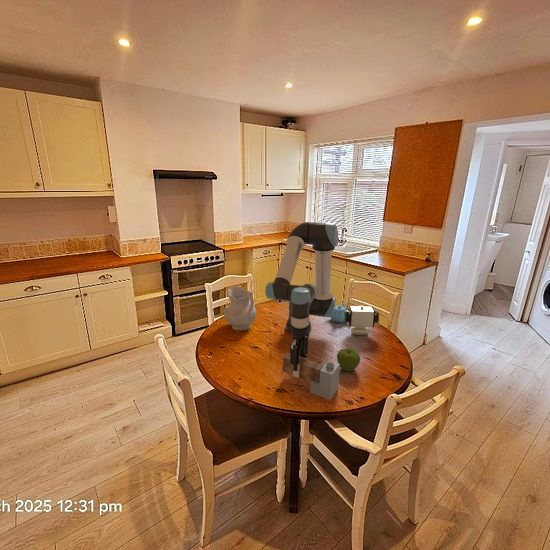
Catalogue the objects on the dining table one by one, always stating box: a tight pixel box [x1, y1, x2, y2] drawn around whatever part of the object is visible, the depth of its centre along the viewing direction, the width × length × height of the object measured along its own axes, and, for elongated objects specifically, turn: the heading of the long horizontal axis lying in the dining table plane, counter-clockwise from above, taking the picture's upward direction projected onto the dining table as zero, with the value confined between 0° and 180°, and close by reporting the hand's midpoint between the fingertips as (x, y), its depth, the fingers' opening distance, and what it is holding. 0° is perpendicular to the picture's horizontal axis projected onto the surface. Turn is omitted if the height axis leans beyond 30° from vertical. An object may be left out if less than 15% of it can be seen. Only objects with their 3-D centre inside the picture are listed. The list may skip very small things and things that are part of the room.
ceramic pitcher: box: [223, 285, 257, 331], centre depth 178 cm, size 22×20×25 cm
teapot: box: [330, 301, 347, 324], centre depth 188 cm, size 13×13×10 cm
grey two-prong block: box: [309, 359, 341, 401], centre depth 123 cm, size 9×8×14 cm
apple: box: [336, 347, 361, 372], centre depth 138 cm, size 11×10×10 cm
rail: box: [282, 353, 325, 383], centre depth 128 cm, size 18×4×7 cm, turn 57°
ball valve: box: [344, 305, 380, 336], centre depth 170 cm, size 18×8×18 cm, turn 84°
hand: (298, 373), depth 130 cm, fingers closed on rail, 4 cm apart
